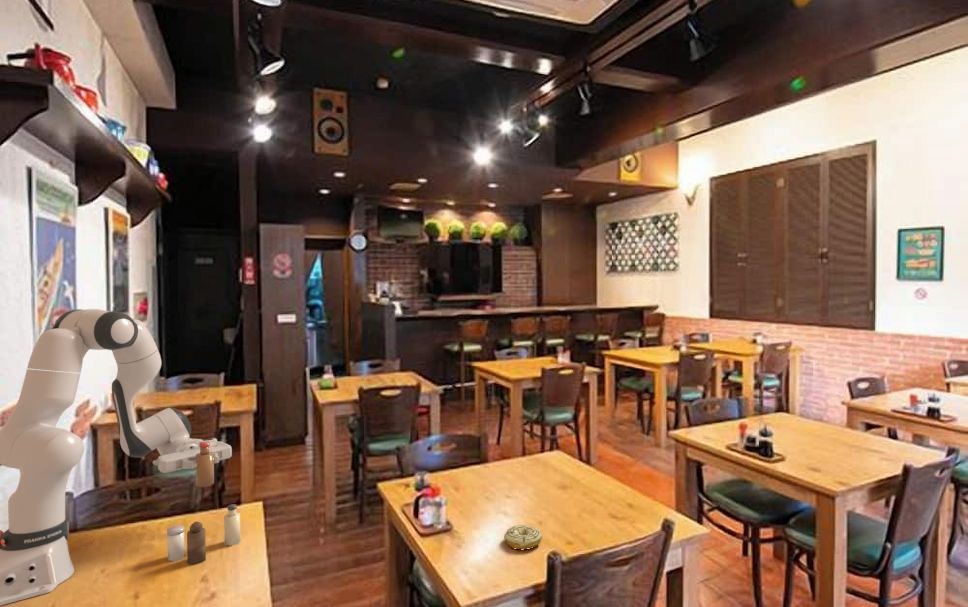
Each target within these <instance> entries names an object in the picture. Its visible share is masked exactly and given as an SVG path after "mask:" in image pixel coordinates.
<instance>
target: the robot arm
mask: <svg viewBox="0 0 968 607" xmlns="http://www.w3.org/2000/svg"><path fill="white" fill-rule="evenodd" d="M90 350H96V351H99V350H101V351H102V350H103V351H105V350H108V351H112V352H111V353H112V354H113V355H112V356H113V357H114V360H115V363H116V366H117V372H116V377H115V379H114V380H113V381H112V382H111V394H112V401H113V405H114V406H113V407H114V410H115V415H116V416H115V417H116V422H117V427H118V434H119V444H120V447H121V449H122V451H123V452H124V453H125V455H127V456H128V457H131V458H144V457H145V456H147V455H148V454H150V453H151V452H153V451H155V450H157V451H158V454H159V456H158V457H157V459H156V460H153V461H152V464H153V466H157V469H158V471H159V472H161V473H163V474H168V473H172V472H175V471H176V472H177V471H181V470H189V469H190V470H193V469H196V468H197V467H198V466H197V464H198V463H197V462H196V454H198V453H200V447H199V443H201V442H210V446H209V452H213V453H214V464H218V463H220V461H223V460H227V459H230V458H231V457H232V455H233V453H232V452H233V449H232V446H231V445H230V444H228V443H225V442H224V441H218V439H217V438H216V437H213V438H190V436H191V435H192V434H191V433H192V425H191V422H190V420H189V419H188V416H187V415H186V414H185V413H184V412H183V411H181V410H180V409H177V408H175V407H167V408H165V409H163V410H161V411H159V412H157V413H154V414H152V416H149V417H147V418H145V419H143V420H141V421H139V422H137V420H136V415H135V410H134V401H135V398H136V397H137V395H138V394H139V393H140V392H141V391H142V389H144V388H145V387H146V386H147V385H148V384H150V383H151V382H152V381H153V380H154V379H155V378H156V377H157V375H158V374H159V372H160V370H161V367H162V358H161V354H160V352H159V349H158V346H157V343H156V341H155V340H154V338H153V335H152V334H151V332H150V330H149V329H148V328H147V326H146V325H145V323H144V322H143V321H141V320H140V319H136V318H132V317H131V316H130V315H128V314H126V313H123V312H121V311H117V310H112V311H109V310H104V309H99V308H90V309H78V308H77V309H72V310H68V311H66V312H64V313H62V314H61V315H60V316H59V317H58V318H57V319H56V321H55V323H54V325H53V327H52V328H51V329H48V330H46V331H45V330H44V332H42V333H41V334H40V335H39V337H38V339H37V341H36V342H35V345H34V347H33V350H32V352H31V355H30V357H29V361H28V363H27V367H26V372H25V375H24V378H23V382H22V386H21V391H20V394H19V397H18V400H17V402H16V404H15V407H14V408H13V411H12V412H11V414H10V415H9V417H8V419H7V421H6V422H5V424H4V425H3V426H2V428H0V465H1V466H3V467H6V468H11V469H16V470H19V473H20V474H19V475H20V477H19V480H18V485H17V486H16V490H15V491H14V492H13V493H12V494H11V495H10V497H9V498H8V500H7V501H8V502H7V506H8V507H7V510H8V517H7V518H8V529H6V530H5V531H3V530H0V606H4V605H7V604H11V603H15V602H19V601H23V600H26V599H30V598H33V597H38V596H41V595H44V594H48V593H50V592H52V591H53V590H54V589H55V588H56V587H57V586H58V585H60V584H61V583H63V582H64V581H66V580H67V579H69V578H70V577H71V576H72V575H73V574H74V573H75V567H74V565H73V562H72V559H71V555H70V552H69V546H68V539H69V521H68V518H67V516H66V489H67V484H68V480H69V477H70V474H71V472H72V470H73V469H74V468H75V467H76V465H78V464H79V462H80V461H82V460H81V459H82V458H83V456H84V452H85V445H84V442H83V440H82V439H81V437H80V436H79V435H77V434H75V433H73V432H72V431H69V430H67V429H64V428H60V427H56V425H57V423H58V422H59V420H60V418H61V417H62V415H63V413H64V412H65V411H66V410H67V409H68V408H70V407H71V406H72V405H73V404H74V403H75V399H76V395H77V391H78V387H79V382H80V377H81V373H82V368H83V362H84V357H85V355H86V354H87V352H89V351H90Z"/></svg>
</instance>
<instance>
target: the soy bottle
mask: <svg viewBox="0 0 968 607" xmlns="http://www.w3.org/2000/svg"><path fill="white" fill-rule="evenodd" d="M209 446H210V442H201V443H199V447H200V453H198V454H196V462H197V463H198V464H197V466H198V467H197V468H195V486H196V487H197V488H206V487H209V486H212V485H214V484H215V463H214V453H213V452H209Z"/></svg>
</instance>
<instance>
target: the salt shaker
mask: <svg viewBox="0 0 968 607" xmlns="http://www.w3.org/2000/svg"><path fill="white" fill-rule="evenodd" d="M166 536H167V539H166V540H167V542H166V544H167V561H169V562H176V561H180V560H182V559H184V558H185V526H184V525H181V524H179V525H173V526H171V527H168V528H167V529H166Z"/></svg>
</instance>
